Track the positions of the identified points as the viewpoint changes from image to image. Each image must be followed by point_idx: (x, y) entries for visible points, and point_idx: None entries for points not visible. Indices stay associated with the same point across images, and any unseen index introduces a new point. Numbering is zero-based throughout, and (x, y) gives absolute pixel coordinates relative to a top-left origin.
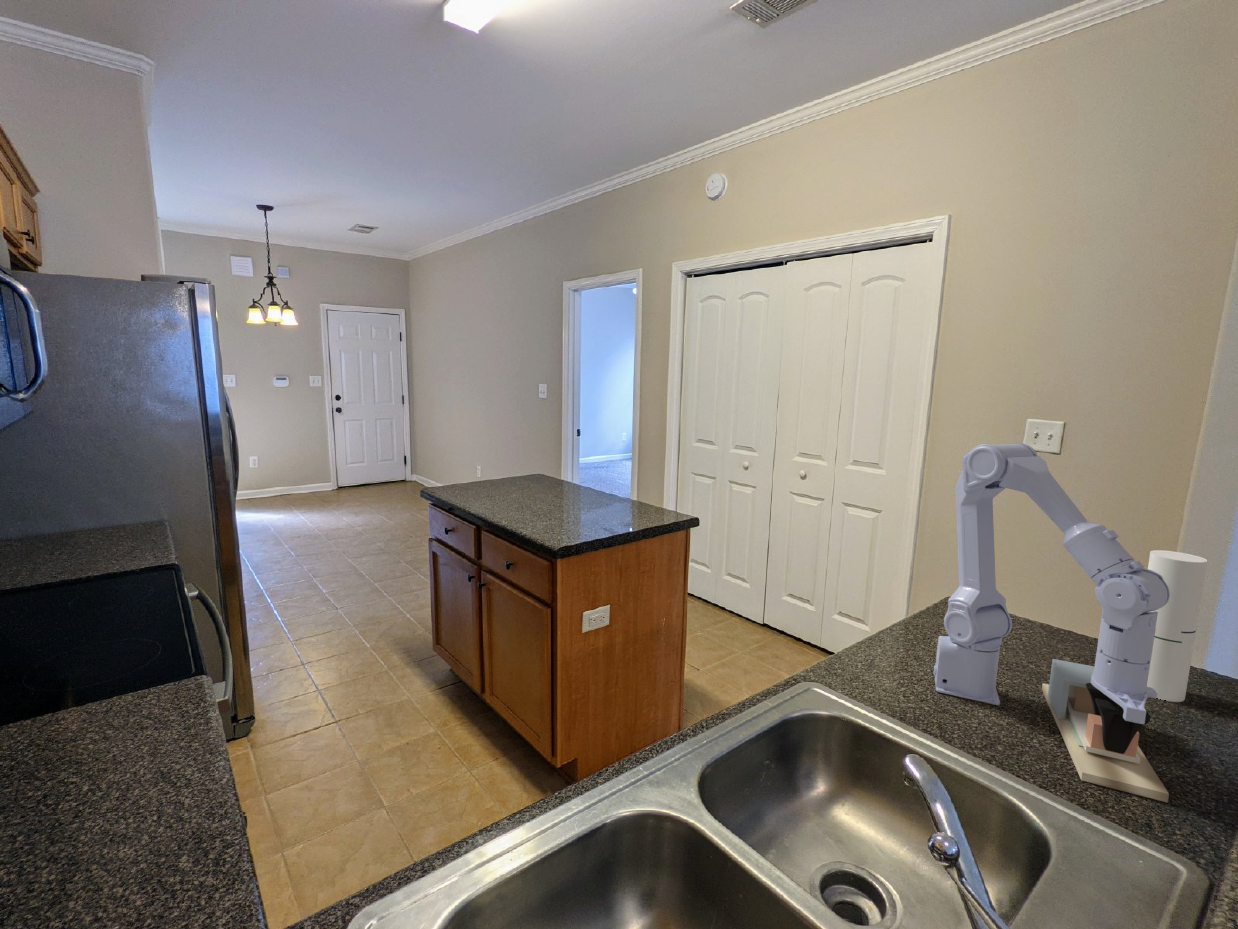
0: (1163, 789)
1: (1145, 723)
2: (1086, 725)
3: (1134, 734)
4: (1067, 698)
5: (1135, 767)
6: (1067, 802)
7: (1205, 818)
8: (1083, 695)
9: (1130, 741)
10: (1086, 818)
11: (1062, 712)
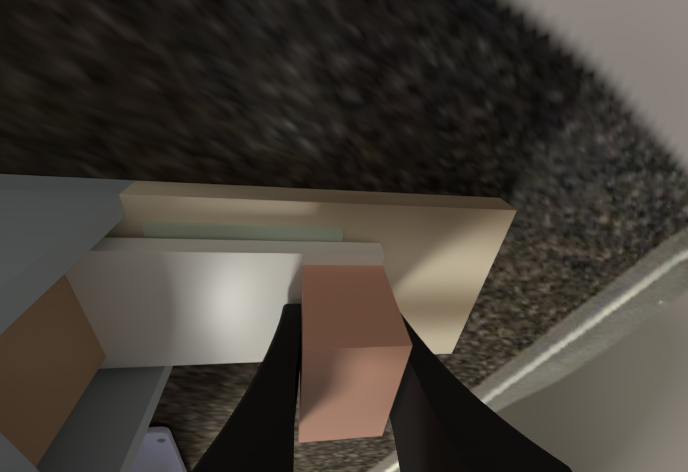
0: (495, 216)
1: (548, 457)
2: (214, 342)
3: (454, 377)
4: (132, 441)
5: (392, 251)
6: (516, 359)
7: (561, 123)
8: (44, 418)
9: (424, 343)
10: (557, 344)
11: (162, 383)
